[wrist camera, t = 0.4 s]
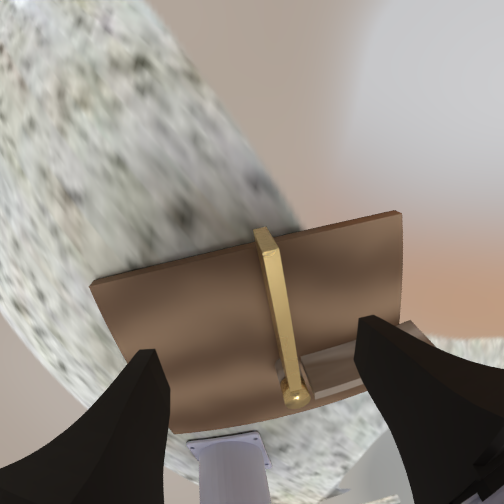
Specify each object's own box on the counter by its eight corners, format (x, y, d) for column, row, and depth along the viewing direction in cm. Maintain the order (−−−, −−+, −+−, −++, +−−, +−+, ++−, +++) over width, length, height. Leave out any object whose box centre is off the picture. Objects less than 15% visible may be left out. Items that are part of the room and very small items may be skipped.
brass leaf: (299, 370, 22) (311, 404, 18) (277, 376, 22) (286, 411, 18) (274, 224, 17) (289, 246, 14) (244, 231, 17) (252, 254, 14)
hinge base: (397, 370, 26) (419, 403, 21) (174, 426, 25) (171, 466, 20) (407, 207, 19) (451, 226, 15) (94, 280, 18) (65, 318, 14)
